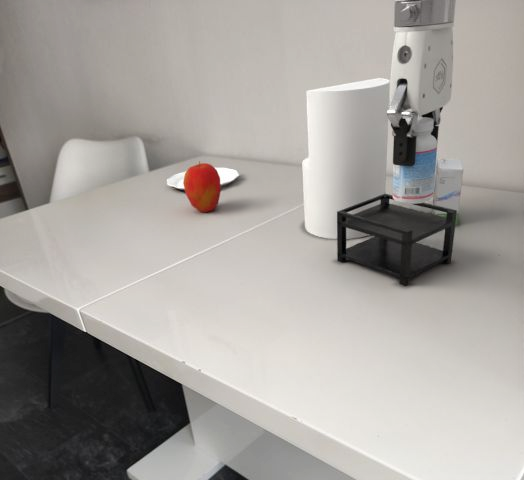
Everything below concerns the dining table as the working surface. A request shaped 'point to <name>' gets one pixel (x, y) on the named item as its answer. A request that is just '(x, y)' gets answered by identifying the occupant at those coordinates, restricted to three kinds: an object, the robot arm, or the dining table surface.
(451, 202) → the ink box
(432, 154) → the pill bottle
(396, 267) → the rack
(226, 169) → the plate
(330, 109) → the cylinder
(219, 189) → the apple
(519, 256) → the dining table surface
